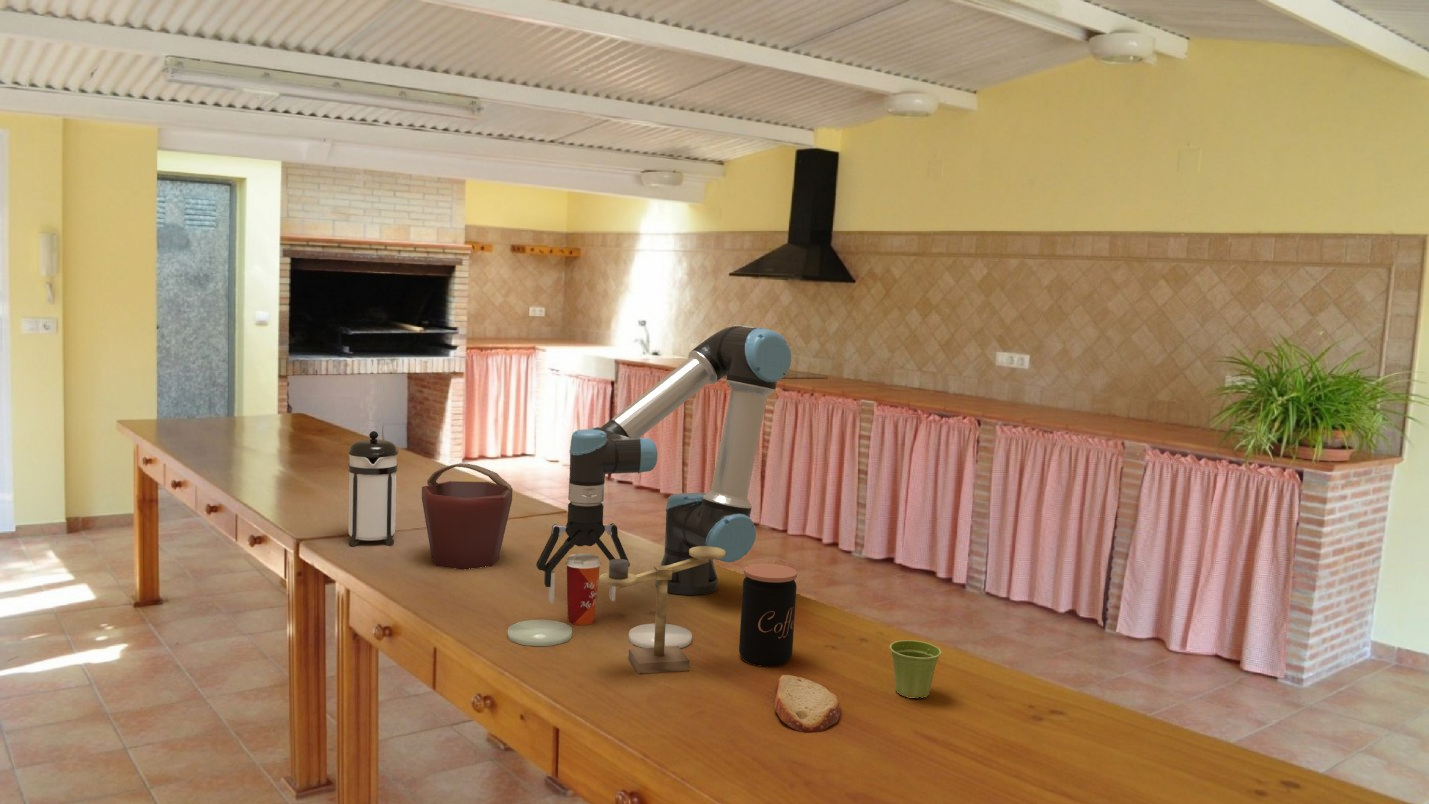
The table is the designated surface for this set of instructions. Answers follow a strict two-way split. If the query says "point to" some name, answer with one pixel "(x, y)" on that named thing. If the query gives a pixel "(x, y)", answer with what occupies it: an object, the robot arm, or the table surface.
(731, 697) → the table surface
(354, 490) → the coffee press
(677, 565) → the balance
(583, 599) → the paper cup
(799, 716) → the bread slice
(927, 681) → the plant pot
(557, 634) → the sage dish
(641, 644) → the white dish
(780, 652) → the coffee jar
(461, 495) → the bucket
